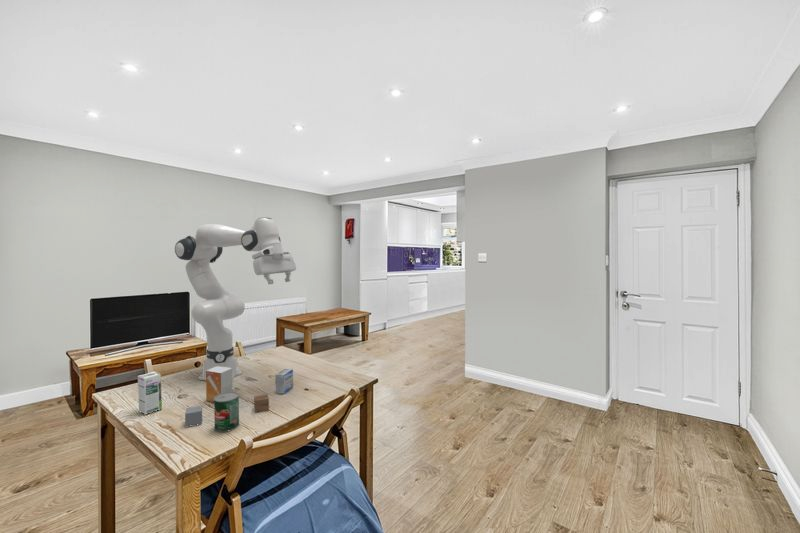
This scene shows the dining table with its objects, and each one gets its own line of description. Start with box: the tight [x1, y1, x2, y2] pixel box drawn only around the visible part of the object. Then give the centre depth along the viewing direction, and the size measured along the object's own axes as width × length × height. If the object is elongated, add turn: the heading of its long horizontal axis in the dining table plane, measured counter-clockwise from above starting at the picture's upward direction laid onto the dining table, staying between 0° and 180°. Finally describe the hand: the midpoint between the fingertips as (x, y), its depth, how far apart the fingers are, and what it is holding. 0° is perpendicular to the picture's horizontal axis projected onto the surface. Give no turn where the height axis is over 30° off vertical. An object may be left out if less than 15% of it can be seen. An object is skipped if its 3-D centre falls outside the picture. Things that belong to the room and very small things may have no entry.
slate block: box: [184, 405, 203, 427], centre depth 126 cm, size 5×5×5 cm
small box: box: [205, 366, 234, 403], centre depth 145 cm, size 8×6×13 cm
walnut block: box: [253, 393, 270, 414], centre depth 137 cm, size 5×5×5 cm
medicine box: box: [274, 368, 294, 395], centre depth 155 cm, size 8×4×9 cm, turn 168°
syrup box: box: [137, 371, 163, 415], centre depth 134 cm, size 6×6×14 cm
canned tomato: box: [213, 391, 240, 433], centre depth 123 cm, size 8×8×11 cm
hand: (279, 282), depth 151 cm, fingers open, 8 cm apart
